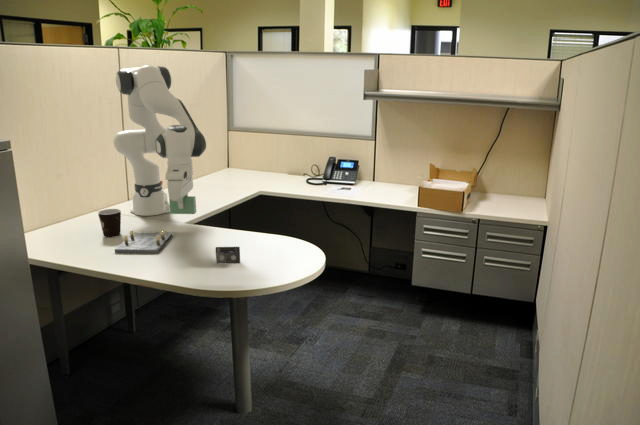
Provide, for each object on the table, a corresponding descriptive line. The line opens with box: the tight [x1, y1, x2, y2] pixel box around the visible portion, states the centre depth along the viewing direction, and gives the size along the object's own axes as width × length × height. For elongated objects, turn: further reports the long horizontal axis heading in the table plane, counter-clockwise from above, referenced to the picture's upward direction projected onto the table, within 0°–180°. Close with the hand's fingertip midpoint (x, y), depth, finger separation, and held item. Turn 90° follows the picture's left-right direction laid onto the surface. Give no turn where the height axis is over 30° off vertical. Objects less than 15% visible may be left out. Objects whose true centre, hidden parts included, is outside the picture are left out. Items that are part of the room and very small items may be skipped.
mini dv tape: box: [215, 246, 241, 265], centre depth 187 cm, size 8×2×6 cm, turn 92°
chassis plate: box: [114, 230, 174, 254], centre depth 206 cm, size 20×16×4 cm
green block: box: [168, 195, 197, 215], centre depth 198 cm, size 3×9×6 cm, turn 89°
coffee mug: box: [97, 208, 122, 238], centre depth 216 cm, size 12×9×10 cm
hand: (183, 206), depth 199 cm, fingers closed on green block, 3 cm apart
